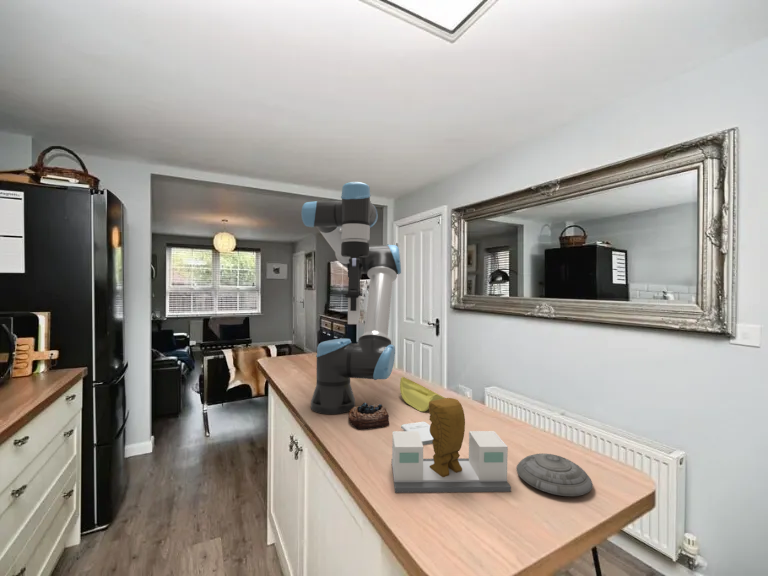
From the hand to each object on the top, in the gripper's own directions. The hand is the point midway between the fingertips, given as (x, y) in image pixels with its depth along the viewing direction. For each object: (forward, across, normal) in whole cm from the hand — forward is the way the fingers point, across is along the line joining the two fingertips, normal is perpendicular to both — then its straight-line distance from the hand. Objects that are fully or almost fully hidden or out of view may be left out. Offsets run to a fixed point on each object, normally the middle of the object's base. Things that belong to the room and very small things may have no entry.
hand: (354, 321), depth 94 cm
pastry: (+33, -14, +4) cm, 36 cm away
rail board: (+33, +17, +22) cm, 43 cm away
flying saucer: (+33, +19, +45) cm, 59 cm away
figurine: (+31, +17, +22) cm, 42 cm away
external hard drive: (+33, -5, +20) cm, 39 cm away
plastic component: (+33, -33, +24) cm, 52 cm away
